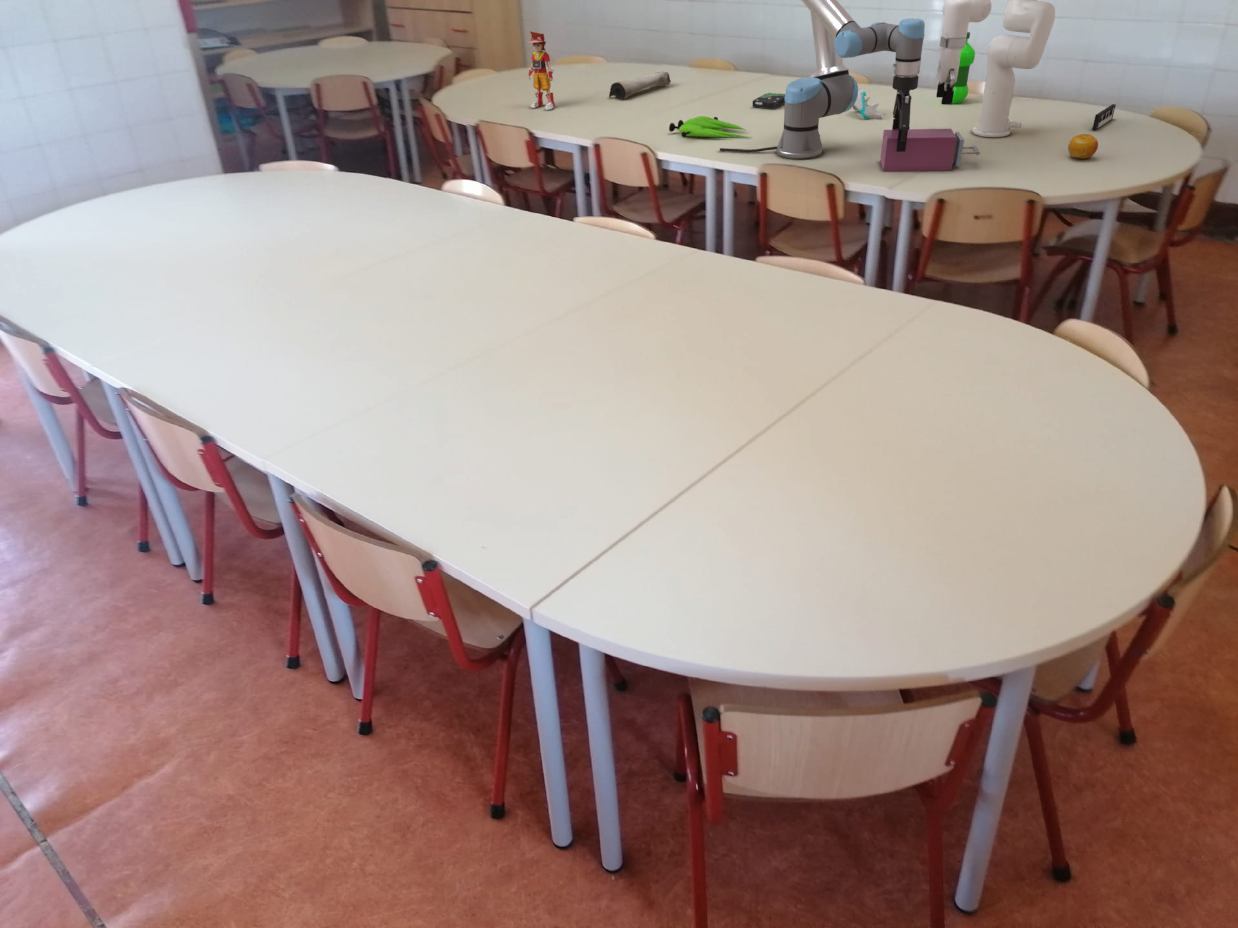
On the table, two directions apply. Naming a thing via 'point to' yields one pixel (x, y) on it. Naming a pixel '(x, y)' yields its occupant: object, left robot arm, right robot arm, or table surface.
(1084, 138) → the fruit
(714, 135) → the toy
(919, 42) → the left robot arm
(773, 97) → the disk drive
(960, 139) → the drawer
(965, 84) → the plastic bottle
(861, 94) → the anatomical model
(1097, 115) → the midi keyboard
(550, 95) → the toy
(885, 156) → the cabinet
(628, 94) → the rolled mat
